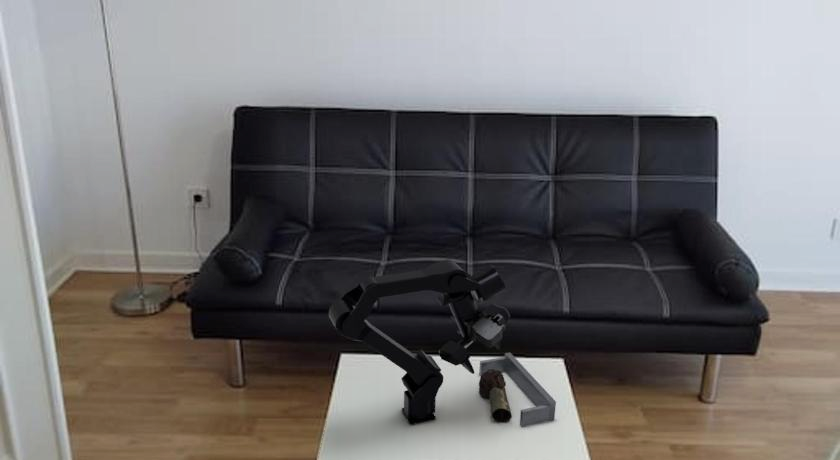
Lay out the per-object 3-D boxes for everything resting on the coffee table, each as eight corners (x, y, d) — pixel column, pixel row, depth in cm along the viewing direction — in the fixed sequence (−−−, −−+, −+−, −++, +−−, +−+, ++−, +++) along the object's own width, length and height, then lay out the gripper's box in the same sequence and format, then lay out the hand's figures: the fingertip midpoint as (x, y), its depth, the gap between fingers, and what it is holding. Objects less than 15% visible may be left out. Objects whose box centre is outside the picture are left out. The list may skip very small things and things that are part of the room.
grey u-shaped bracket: (521, 426, 180) (523, 408, 178) (479, 374, 201) (480, 357, 199) (554, 420, 183) (555, 401, 181) (509, 369, 204) (510, 352, 202)
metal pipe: (511, 424, 182) (512, 403, 180) (482, 424, 182) (483, 403, 180) (503, 382, 198) (504, 363, 196) (476, 382, 198) (477, 363, 196)
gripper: (460, 344, 168) (482, 397, 175) (516, 294, 176) (535, 346, 183) (427, 331, 176) (450, 381, 183) (482, 283, 185) (502, 333, 192)
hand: (485, 360), depth 185 cm, fingers open, 9 cm apart
